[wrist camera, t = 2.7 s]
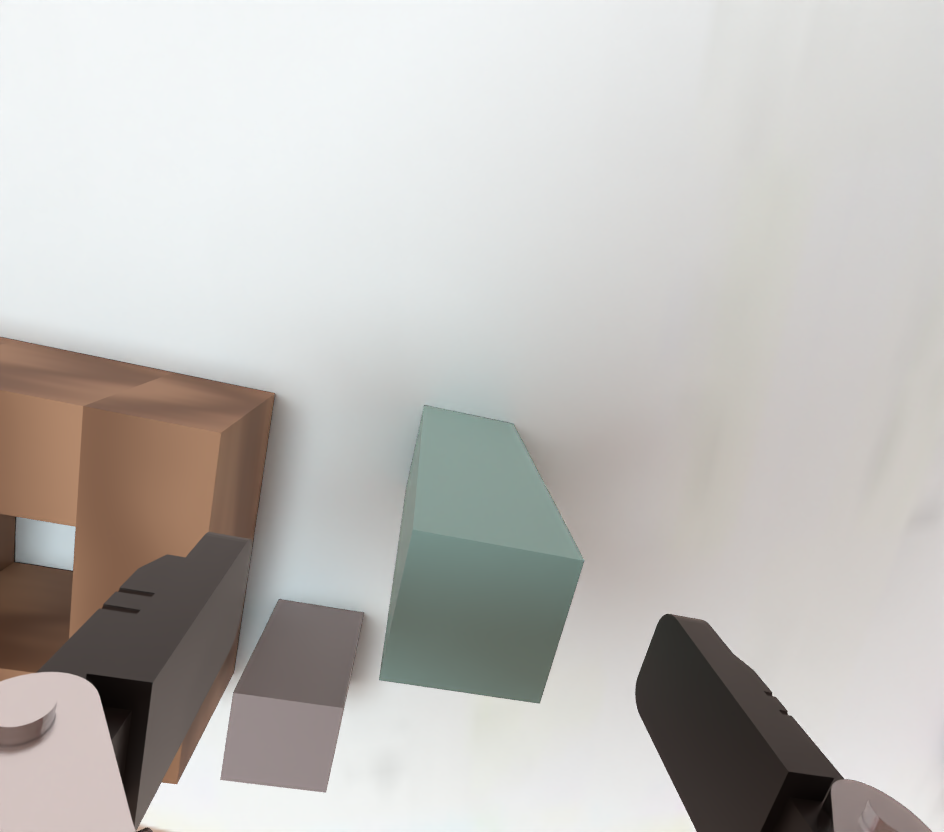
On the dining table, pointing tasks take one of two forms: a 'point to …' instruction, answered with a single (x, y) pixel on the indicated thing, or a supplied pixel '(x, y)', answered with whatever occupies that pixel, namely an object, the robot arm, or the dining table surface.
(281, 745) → the short pin
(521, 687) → the long pin
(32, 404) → the socket block
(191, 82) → the dining table surface
